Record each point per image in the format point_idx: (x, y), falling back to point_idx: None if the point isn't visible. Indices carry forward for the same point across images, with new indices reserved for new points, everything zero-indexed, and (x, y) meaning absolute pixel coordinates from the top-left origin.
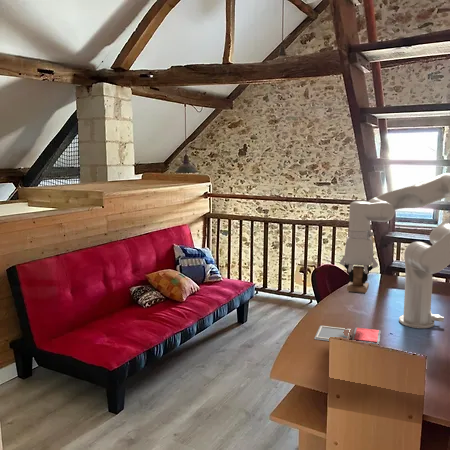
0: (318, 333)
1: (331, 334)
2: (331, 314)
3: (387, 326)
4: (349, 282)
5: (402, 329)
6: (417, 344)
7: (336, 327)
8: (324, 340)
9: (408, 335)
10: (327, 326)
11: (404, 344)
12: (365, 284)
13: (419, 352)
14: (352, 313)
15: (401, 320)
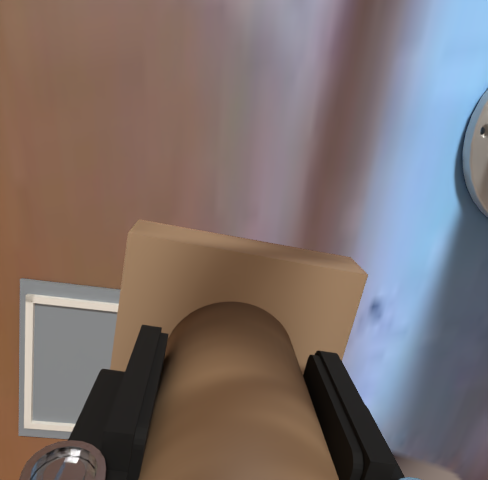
0: (28, 390)
1: (93, 379)
2: (64, 77)
3: (379, 224)
4: (124, 278)
5: (444, 250)
6: (456, 396)
7: (111, 292)
8: (68, 438)
9: (449, 316)
10: (61, 300)
11: (404, 406)
12: (320, 331)
13: (439, 459)
14: (203, 35)
15: (474, 170)
